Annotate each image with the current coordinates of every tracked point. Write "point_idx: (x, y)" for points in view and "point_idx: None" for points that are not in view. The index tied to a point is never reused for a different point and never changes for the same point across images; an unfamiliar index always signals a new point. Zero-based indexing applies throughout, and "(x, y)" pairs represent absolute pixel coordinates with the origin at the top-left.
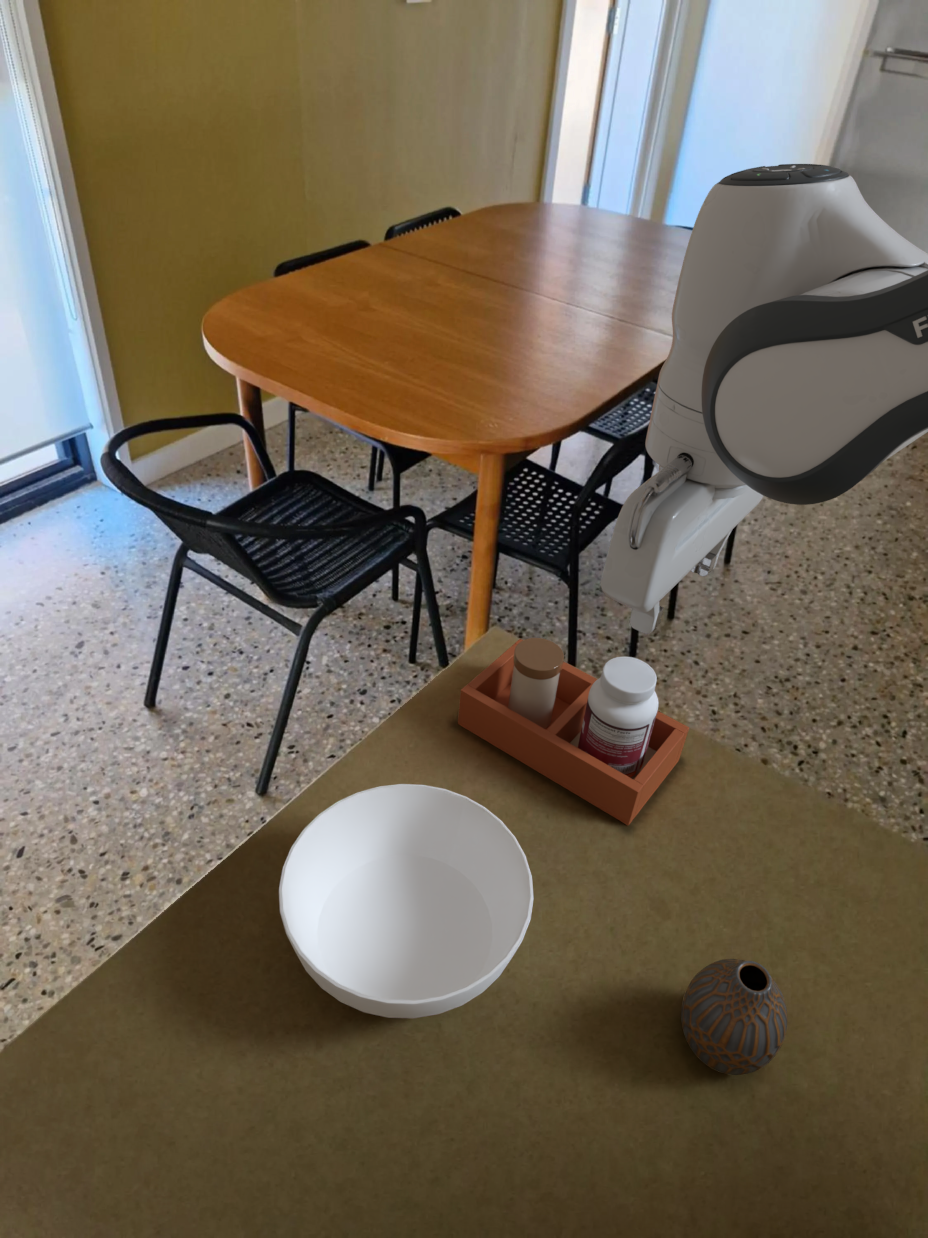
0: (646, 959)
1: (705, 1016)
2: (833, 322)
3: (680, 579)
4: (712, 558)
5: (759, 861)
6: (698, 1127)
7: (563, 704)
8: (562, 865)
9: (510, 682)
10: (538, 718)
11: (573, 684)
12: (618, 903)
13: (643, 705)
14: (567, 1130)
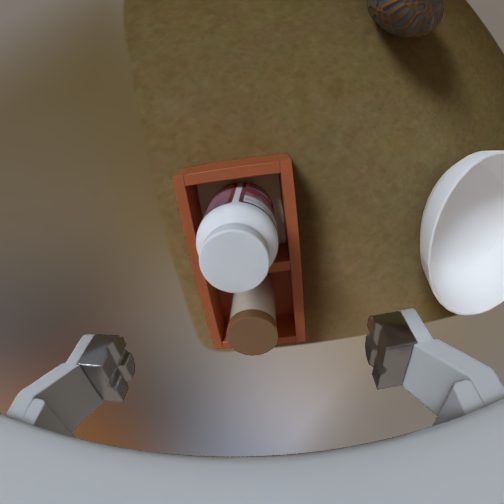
0: (381, 75)
1: (442, 16)
2: None
3: (471, 424)
4: (95, 366)
5: (227, 52)
6: None
7: None
8: (360, 170)
9: None
10: (264, 282)
11: (211, 288)
12: (358, 115)
13: (240, 221)
14: (484, 74)
